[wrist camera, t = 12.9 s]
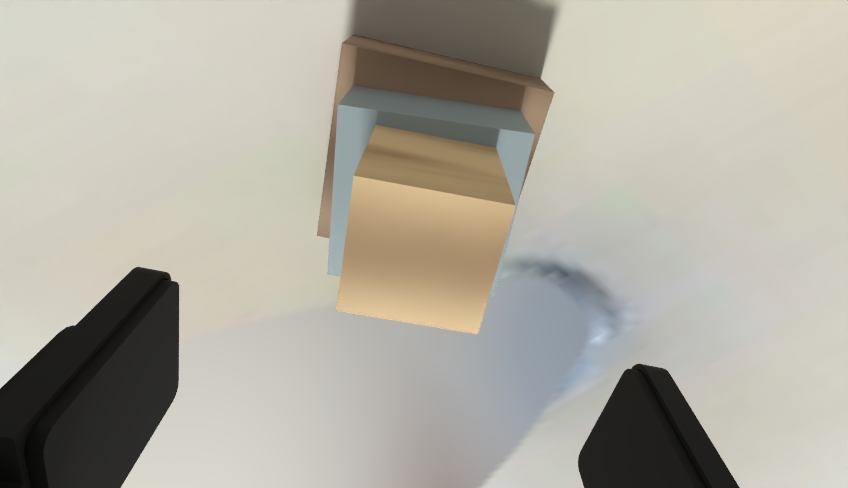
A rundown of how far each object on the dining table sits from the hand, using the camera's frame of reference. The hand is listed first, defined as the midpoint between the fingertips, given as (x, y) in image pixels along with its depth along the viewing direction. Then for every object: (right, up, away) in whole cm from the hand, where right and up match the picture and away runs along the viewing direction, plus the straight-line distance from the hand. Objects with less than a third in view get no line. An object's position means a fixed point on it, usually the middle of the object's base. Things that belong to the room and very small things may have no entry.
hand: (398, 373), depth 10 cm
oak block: (+1, +5, +11) cm, 12 cm away
